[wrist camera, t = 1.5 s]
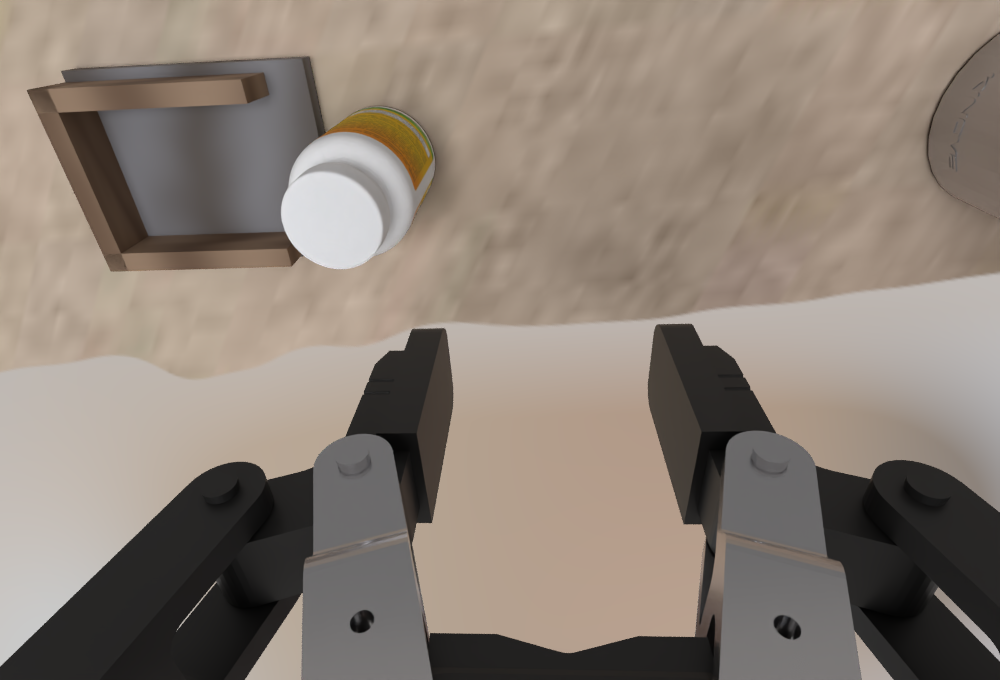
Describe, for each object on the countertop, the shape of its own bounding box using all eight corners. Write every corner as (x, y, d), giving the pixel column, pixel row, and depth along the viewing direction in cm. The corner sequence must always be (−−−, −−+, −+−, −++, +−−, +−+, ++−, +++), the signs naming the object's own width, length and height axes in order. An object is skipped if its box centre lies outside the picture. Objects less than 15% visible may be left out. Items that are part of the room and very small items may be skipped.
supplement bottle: (332, 98, 28) (251, 142, 20) (438, 111, 28) (401, 160, 20) (338, 201, 31) (269, 278, 23) (434, 213, 31) (400, 293, 23)
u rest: (309, 56, 27) (282, 64, 24) (348, 248, 32) (330, 274, 29) (75, 68, 28) (21, 77, 25) (151, 254, 33) (114, 279, 30)
